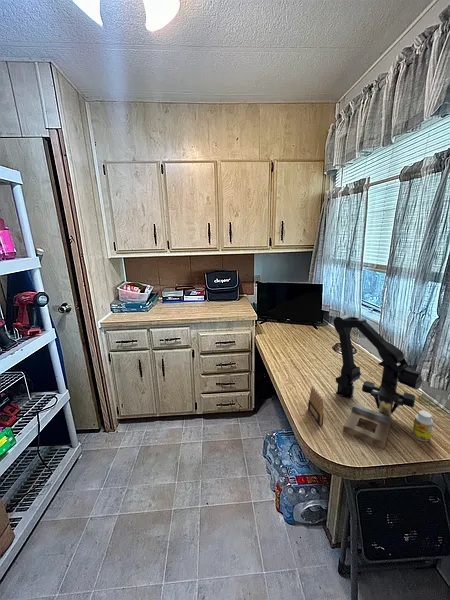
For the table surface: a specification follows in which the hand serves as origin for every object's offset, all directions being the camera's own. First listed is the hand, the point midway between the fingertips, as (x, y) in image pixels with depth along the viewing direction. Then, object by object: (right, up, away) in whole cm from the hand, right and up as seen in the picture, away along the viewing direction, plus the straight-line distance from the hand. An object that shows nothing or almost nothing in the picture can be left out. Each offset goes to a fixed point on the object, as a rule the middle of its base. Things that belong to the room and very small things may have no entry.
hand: (385, 410), depth 111 cm
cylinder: (0, -2, 0) cm, 2 cm away
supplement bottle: (+6, -5, -12) cm, 15 cm away
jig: (-13, -4, -9) cm, 17 cm away
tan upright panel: (-30, -3, 0) cm, 31 cm away
